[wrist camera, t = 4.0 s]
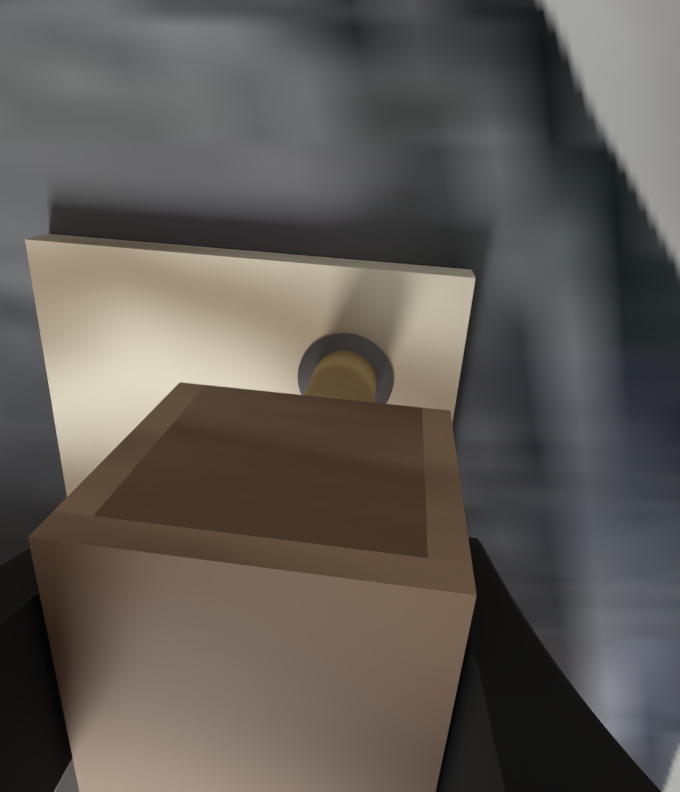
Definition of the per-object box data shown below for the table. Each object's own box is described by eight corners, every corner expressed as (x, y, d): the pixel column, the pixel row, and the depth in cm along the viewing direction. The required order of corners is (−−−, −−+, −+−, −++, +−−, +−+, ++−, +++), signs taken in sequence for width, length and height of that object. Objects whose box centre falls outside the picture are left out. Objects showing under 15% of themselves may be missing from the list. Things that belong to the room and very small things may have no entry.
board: (404, 701, 25) (402, 802, 21) (110, 658, 26) (58, 746, 22) (471, 269, 17) (488, 305, 13) (48, 233, 18) (-48, 257, 14)
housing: (417, 619, 12) (419, 866, 8) (192, 589, 13) (83, 807, 8) (449, 410, 10) (476, 595, 6) (180, 382, 11) (28, 536, 6)
